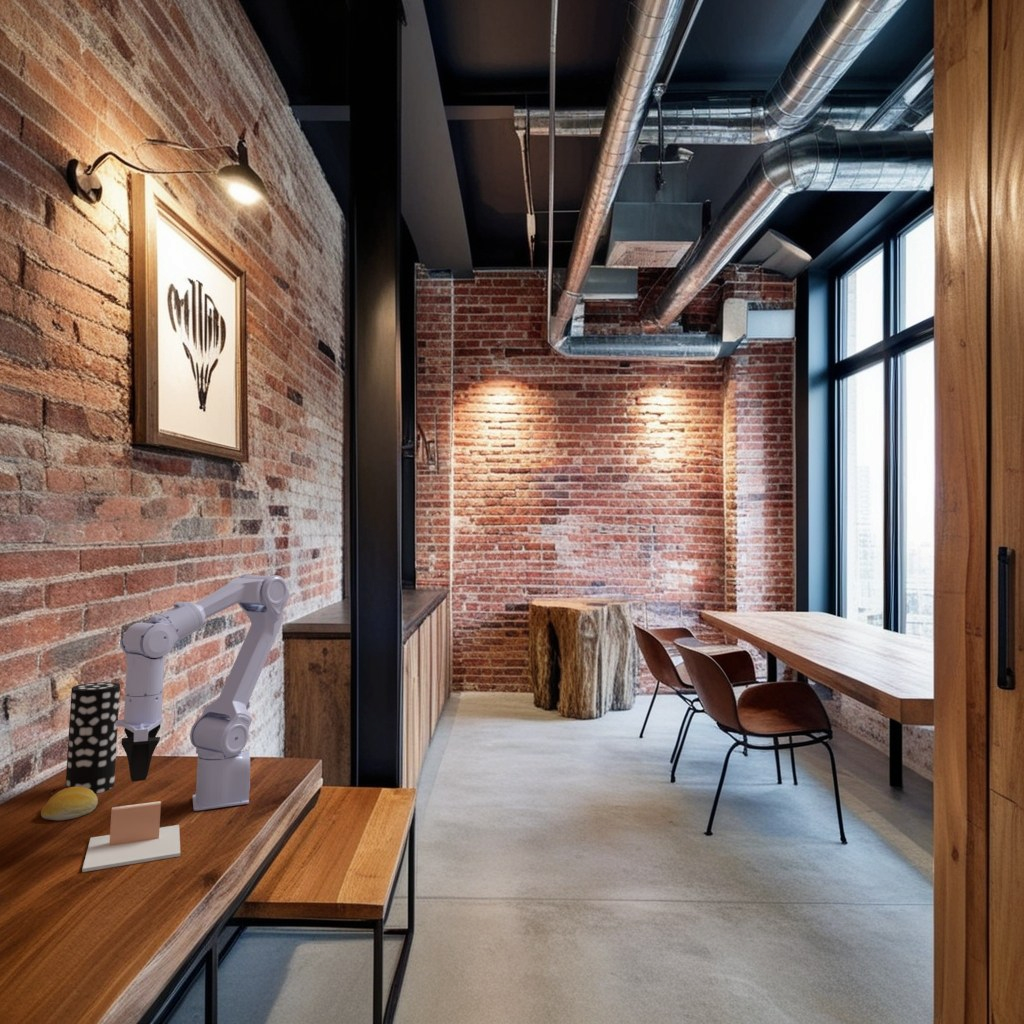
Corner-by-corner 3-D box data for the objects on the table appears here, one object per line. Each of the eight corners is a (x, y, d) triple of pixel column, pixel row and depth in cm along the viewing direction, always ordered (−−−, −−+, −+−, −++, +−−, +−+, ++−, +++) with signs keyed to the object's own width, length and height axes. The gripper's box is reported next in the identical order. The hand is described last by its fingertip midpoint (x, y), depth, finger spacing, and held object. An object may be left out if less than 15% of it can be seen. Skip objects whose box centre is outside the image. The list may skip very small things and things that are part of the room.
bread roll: (35, 825, 116) (37, 801, 117) (50, 806, 125) (52, 784, 125) (91, 819, 119) (92, 796, 120) (102, 801, 128) (103, 780, 128)
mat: (179, 827, 116) (179, 824, 116) (180, 856, 105) (180, 852, 105) (90, 840, 110) (90, 837, 110) (82, 872, 100) (82, 868, 100)
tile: (158, 835, 112) (160, 801, 112) (158, 838, 111) (160, 803, 111) (110, 842, 109) (112, 807, 109) (109, 845, 107) (111, 810, 108)
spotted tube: (122, 786, 135) (128, 685, 136) (77, 798, 128) (84, 692, 130) (101, 778, 140) (107, 680, 141) (56, 789, 133) (63, 686, 134)
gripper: (119, 687, 121) (115, 764, 120) (114, 703, 108) (109, 791, 107) (164, 684, 124) (160, 760, 123) (163, 700, 111) (159, 785, 110)
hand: (139, 774), depth 115 cm, fingers open, 6 cm apart
